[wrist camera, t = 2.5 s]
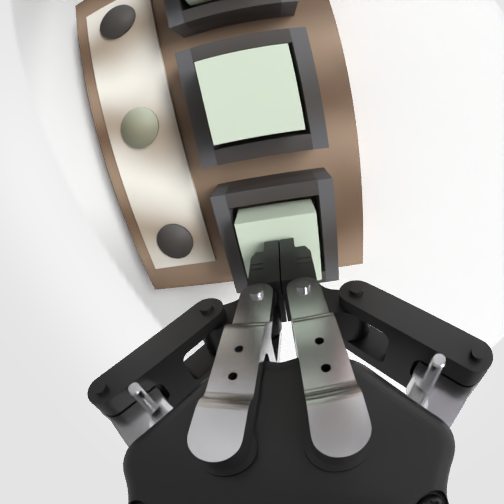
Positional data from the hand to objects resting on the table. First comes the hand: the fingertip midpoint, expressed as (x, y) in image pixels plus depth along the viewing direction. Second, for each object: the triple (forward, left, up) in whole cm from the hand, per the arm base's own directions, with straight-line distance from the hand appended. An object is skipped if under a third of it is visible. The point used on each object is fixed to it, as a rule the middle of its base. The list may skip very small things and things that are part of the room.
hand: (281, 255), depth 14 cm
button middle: (-8, 0, -2) cm, 8 cm away
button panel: (-8, -2, -6) cm, 11 cm away
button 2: (0, 0, -2) cm, 2 cm away
